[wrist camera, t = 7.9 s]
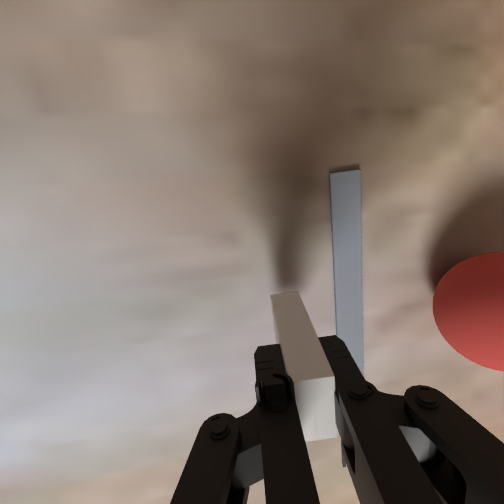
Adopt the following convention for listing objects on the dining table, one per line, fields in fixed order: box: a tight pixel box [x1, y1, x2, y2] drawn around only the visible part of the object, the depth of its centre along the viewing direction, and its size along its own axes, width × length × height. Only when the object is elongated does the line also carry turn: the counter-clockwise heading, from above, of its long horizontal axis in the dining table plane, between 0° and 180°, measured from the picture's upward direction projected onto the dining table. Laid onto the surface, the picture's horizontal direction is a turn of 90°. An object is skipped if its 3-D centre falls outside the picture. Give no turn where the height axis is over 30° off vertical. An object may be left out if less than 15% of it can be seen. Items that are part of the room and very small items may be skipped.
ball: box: [433, 253, 504, 371], centre depth 16 cm, size 6×6×6 cm
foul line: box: [329, 169, 364, 377], centre depth 19 cm, size 14×2×1 cm, turn 7°
